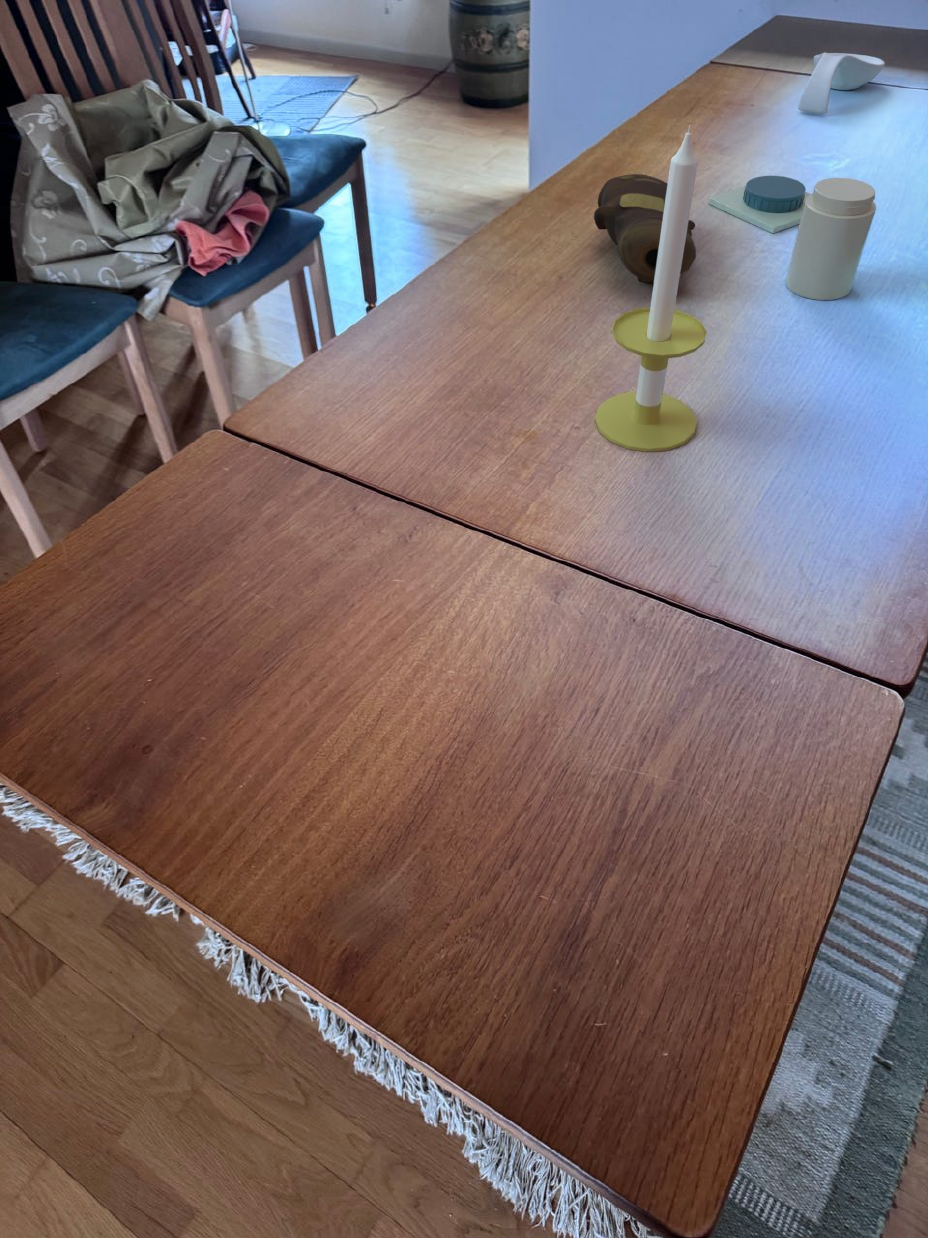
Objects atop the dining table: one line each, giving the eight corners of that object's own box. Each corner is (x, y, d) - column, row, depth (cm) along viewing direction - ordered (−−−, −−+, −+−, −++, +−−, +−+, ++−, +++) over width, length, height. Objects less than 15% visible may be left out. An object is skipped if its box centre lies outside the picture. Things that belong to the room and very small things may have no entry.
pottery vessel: (597, 302, 103) (603, 238, 98) (588, 228, 117) (593, 168, 112) (704, 302, 103) (716, 237, 97) (683, 227, 117) (692, 167, 111)
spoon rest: (819, 70, 160) (830, 24, 154) (885, 79, 155) (899, 32, 150) (777, 109, 146) (787, 60, 141) (848, 120, 142) (861, 70, 137)
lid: (731, 201, 120) (734, 187, 119) (764, 184, 124) (767, 170, 122) (781, 218, 116) (784, 203, 115) (814, 200, 120) (817, 186, 118)
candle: (573, 419, 87) (596, 124, 68) (641, 382, 92) (682, 94, 72) (649, 465, 82) (698, 159, 62) (718, 423, 86) (784, 125, 67)
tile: (835, 210, 119) (837, 204, 118) (772, 233, 115) (774, 227, 114) (769, 182, 126) (770, 176, 125) (707, 203, 122) (709, 197, 121)
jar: (863, 295, 103) (895, 197, 95) (804, 304, 102) (830, 206, 94) (830, 266, 108) (857, 171, 100) (773, 274, 107) (796, 179, 99)
